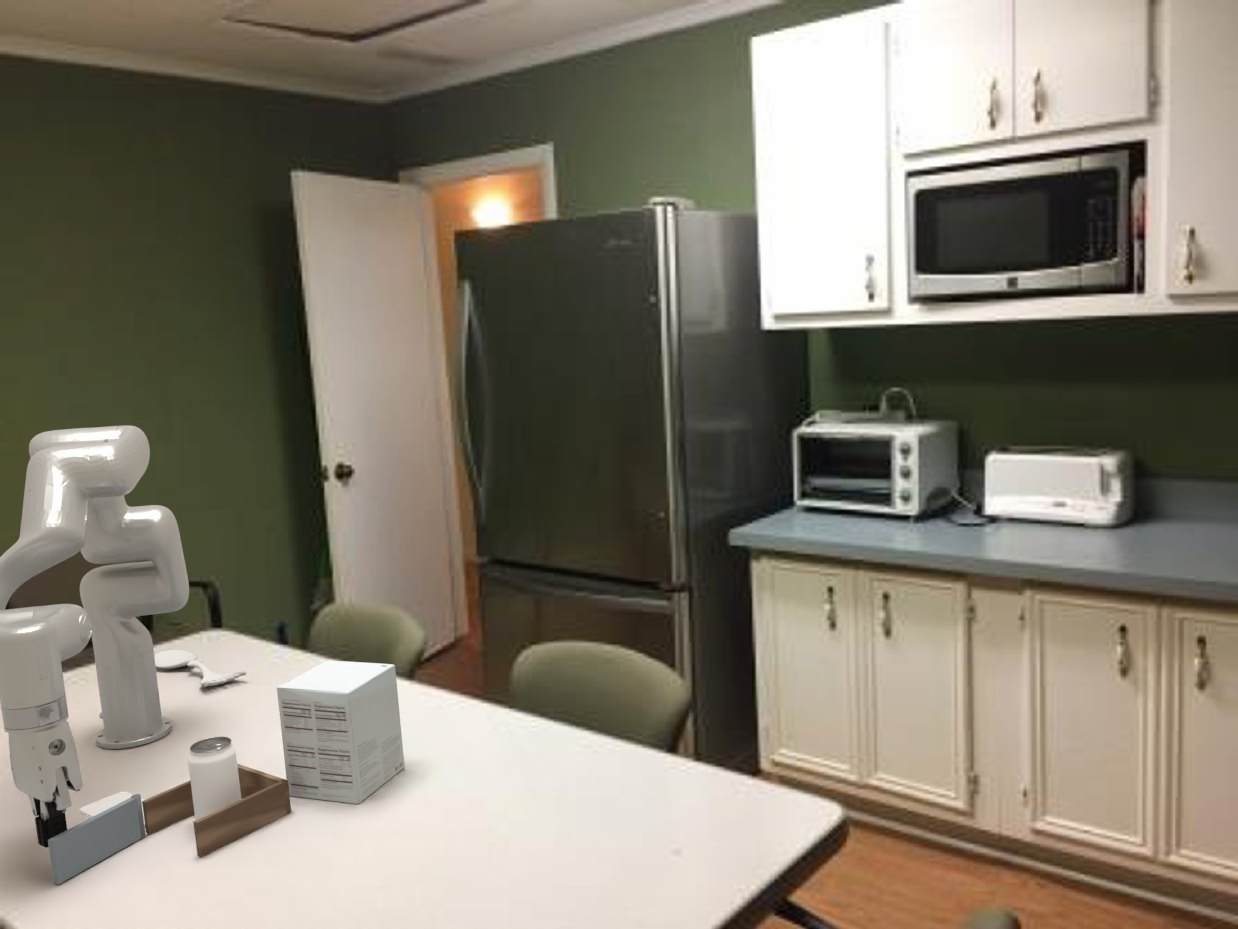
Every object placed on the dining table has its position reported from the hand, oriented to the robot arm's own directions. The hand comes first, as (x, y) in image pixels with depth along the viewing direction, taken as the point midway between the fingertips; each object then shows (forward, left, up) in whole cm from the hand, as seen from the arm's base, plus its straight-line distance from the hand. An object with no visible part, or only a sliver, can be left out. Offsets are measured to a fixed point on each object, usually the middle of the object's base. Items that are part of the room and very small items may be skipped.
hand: (53, 841), depth 139 cm
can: (+9, +19, -4) cm, 21 cm away
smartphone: (-7, +14, -4) cm, 16 cm away
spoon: (-58, +57, -4) cm, 81 cm away
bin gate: (+4, +4, -4) cm, 7 cm away
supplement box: (+15, +38, -4) cm, 41 cm away
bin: (+9, +19, -4) cm, 21 cm away
